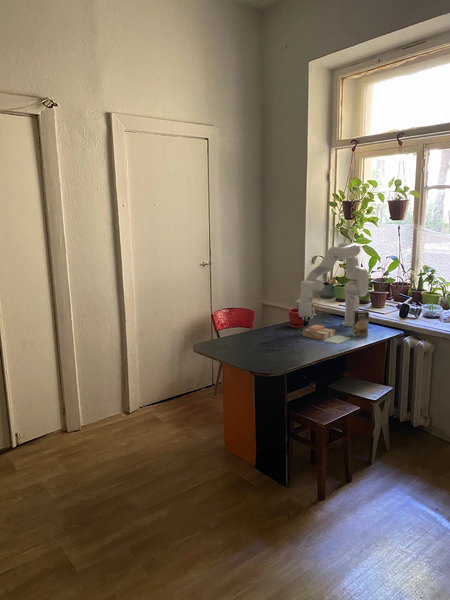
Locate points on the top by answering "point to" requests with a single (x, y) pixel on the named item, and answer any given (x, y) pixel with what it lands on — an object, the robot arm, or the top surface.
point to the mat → (337, 339)
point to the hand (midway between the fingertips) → (305, 326)
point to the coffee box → (360, 323)
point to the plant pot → (295, 319)
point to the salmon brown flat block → (316, 328)
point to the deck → (319, 333)
